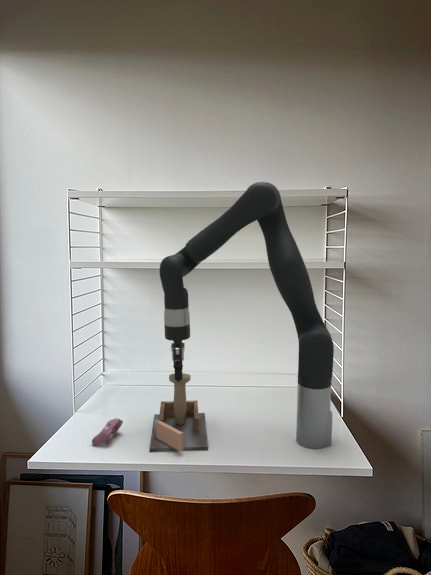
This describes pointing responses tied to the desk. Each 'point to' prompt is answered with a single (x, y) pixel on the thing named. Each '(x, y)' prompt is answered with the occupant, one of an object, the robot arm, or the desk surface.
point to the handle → (180, 398)
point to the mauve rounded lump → (107, 431)
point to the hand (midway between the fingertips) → (178, 375)
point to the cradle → (182, 428)
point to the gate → (168, 435)
